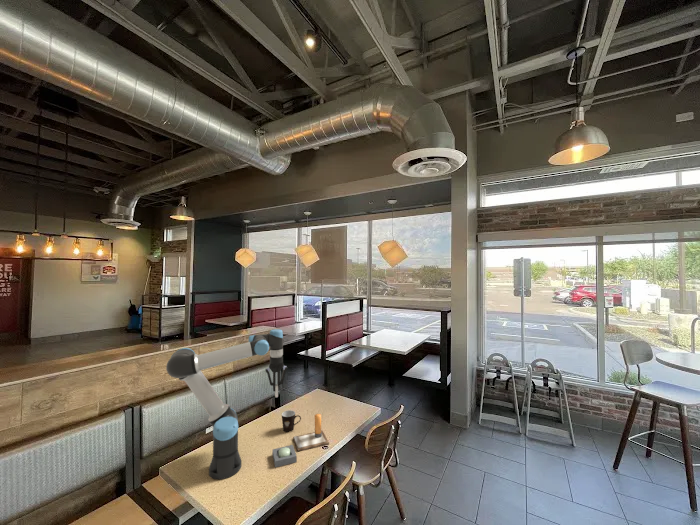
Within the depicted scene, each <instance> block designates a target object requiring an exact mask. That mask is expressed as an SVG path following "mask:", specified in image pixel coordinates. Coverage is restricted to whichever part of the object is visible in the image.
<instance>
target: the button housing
mask: <svg viewBox="0 0 700 525" xmlns="http://www.w3.org/2000/svg"><path fill="white" fill-rule="evenodd" d="M285 447H287V448H289V449H290V456H286V457H282V458H279V450H280V449H281V448H285ZM294 447H295V446H294V445H293V444H290V445H285V446H282V447H277V448H273V449H272V458H273V463H274V464H273V465H274V468H280V467H283V466H287V465H290V464H295V463H297V459H298V457H297V454H296V450H295V448H294Z"/></svg>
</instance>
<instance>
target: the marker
mask: <svg viewBox="0 0 700 525" xmlns="http://www.w3.org/2000/svg"><path fill="white" fill-rule="evenodd" d="M322 431H323V430H322V414H320V413H316V414H314V432H315V437H316V438H320V437H321V436H322Z"/></svg>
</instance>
